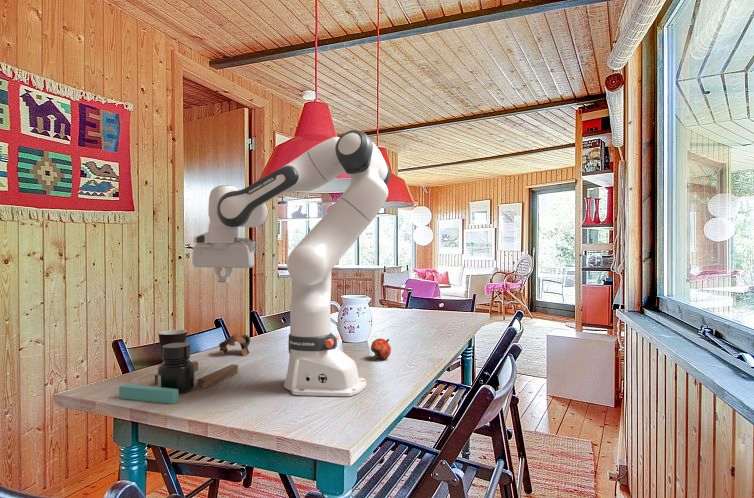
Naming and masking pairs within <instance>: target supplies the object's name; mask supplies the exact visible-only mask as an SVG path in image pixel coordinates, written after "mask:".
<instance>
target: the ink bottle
mask: <svg viewBox="0 0 754 498" xmlns="http://www.w3.org/2000/svg"><path fill="white" fill-rule="evenodd" d="M190 358H191V343H188V342H186V343H171V344H166V345H163V346H162V357H161V361H162V360H163V361H164V362H163V363H162V362H161V364H159V366H158V368H157V374H158V384H157V387H161V388H171V389H178V395H179V394H185V393H187V392H191V391H192V390H194V388H195V371H194V363H193V362H192V361H191V359H190Z"/></svg>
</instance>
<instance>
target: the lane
mask: <svg viewBox="0 0 754 498" xmlns="http://www.w3.org/2000/svg"><path fill="white" fill-rule="evenodd" d="M191 362H193V363H194V372H196V371H198V370H199V361H197V360H195V361H193V360H192V361H191ZM238 373H239V365H238V364H230V365H227V366H226V367H223V368H221V369H218V370H215V371H213V372H211V373H209V374H207V375H204V376H201V377H200V378H197V389H198V390H199V389H200V390H205V389H207V388H210V387H212V386H214V385H215V384H218V383H220V382H223V381H224V380H226V379H228V378H231V377H232V376H235V375H237V374H238ZM154 385H158V373H157V374H155V375H154Z"/></svg>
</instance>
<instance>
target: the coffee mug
mask: <svg viewBox="0 0 754 498" xmlns="http://www.w3.org/2000/svg"><path fill="white" fill-rule="evenodd" d="M187 334H188V330H186V329H169V330H162V331H160V332H158V340H159V348H160V350H159V351H160V356H161V358H162V346H163V345H166V344H171V343H187V336H188V335H187ZM163 362H164V361H163V360H162V359H161V364H162V363H163Z"/></svg>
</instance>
